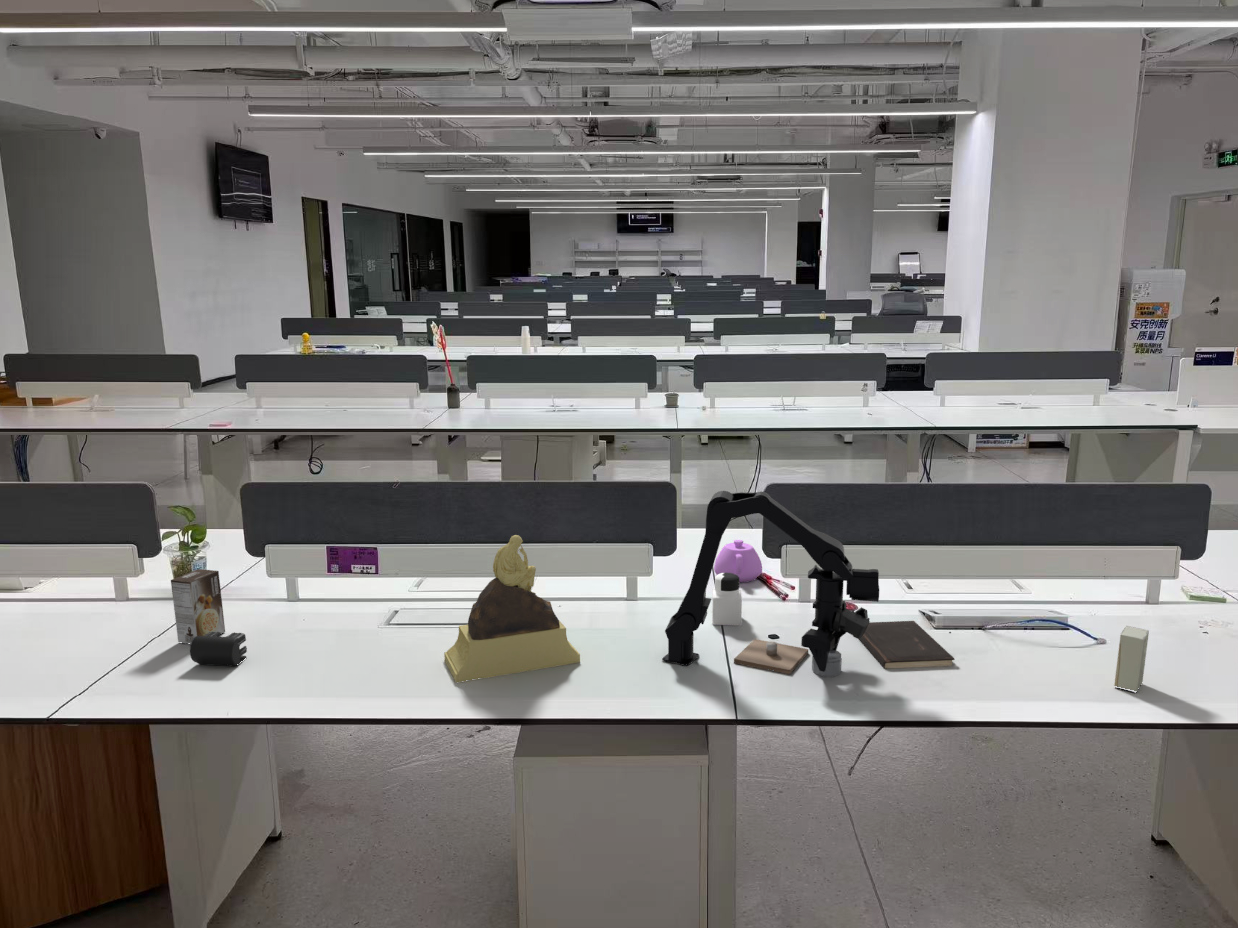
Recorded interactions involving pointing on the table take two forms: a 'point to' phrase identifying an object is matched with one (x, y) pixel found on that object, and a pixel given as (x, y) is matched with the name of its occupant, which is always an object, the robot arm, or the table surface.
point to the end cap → (218, 649)
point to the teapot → (739, 561)
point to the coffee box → (197, 604)
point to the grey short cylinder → (829, 665)
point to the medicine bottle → (727, 600)
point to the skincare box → (1131, 658)
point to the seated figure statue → (509, 625)
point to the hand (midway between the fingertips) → (826, 665)
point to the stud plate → (771, 656)
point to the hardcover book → (903, 645)
